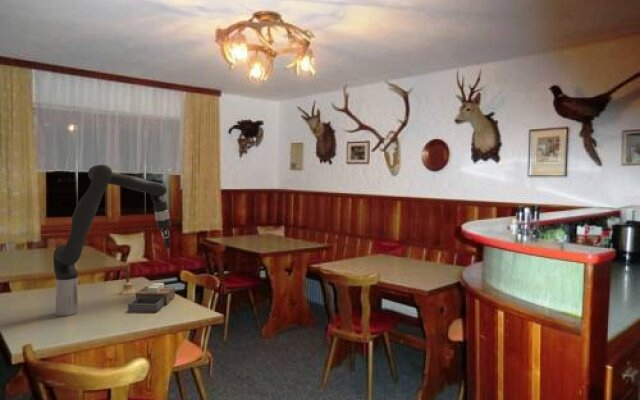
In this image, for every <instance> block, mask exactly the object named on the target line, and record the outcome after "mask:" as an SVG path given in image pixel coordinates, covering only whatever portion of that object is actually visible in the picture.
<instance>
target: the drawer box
mask: <svg viewBox="0 0 640 400" xmlns="http://www.w3.org/2000/svg"><path fill="white" fill-rule="evenodd" d="M148 287H149V286H144V287H143V288H141V289H140V290H138V291H136V293H135V299H136V298H137V297H140V298H165V306H168V305H169V304H170V303H171V302H172V301H173V300H174V299H176V298H175V297H176V295H175V294H176V290H175V289H176V288H175V286H164V288H163V289H161V290H160V291H159V292H158V293H148Z"/></svg>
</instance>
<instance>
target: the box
mask: <svg viewBox="0 0 640 400" xmlns="http://www.w3.org/2000/svg"><path fill="white" fill-rule="evenodd" d="M127 304H128V305H127V312H128V313H156V314H157V313H158V312H159V311H161V310H162V309H163V307H164V306H166V305H165V298H140V297H137V298H136V297H135V298H134V299H133V300H132V301H131V302H129V303H127Z"/></svg>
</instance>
